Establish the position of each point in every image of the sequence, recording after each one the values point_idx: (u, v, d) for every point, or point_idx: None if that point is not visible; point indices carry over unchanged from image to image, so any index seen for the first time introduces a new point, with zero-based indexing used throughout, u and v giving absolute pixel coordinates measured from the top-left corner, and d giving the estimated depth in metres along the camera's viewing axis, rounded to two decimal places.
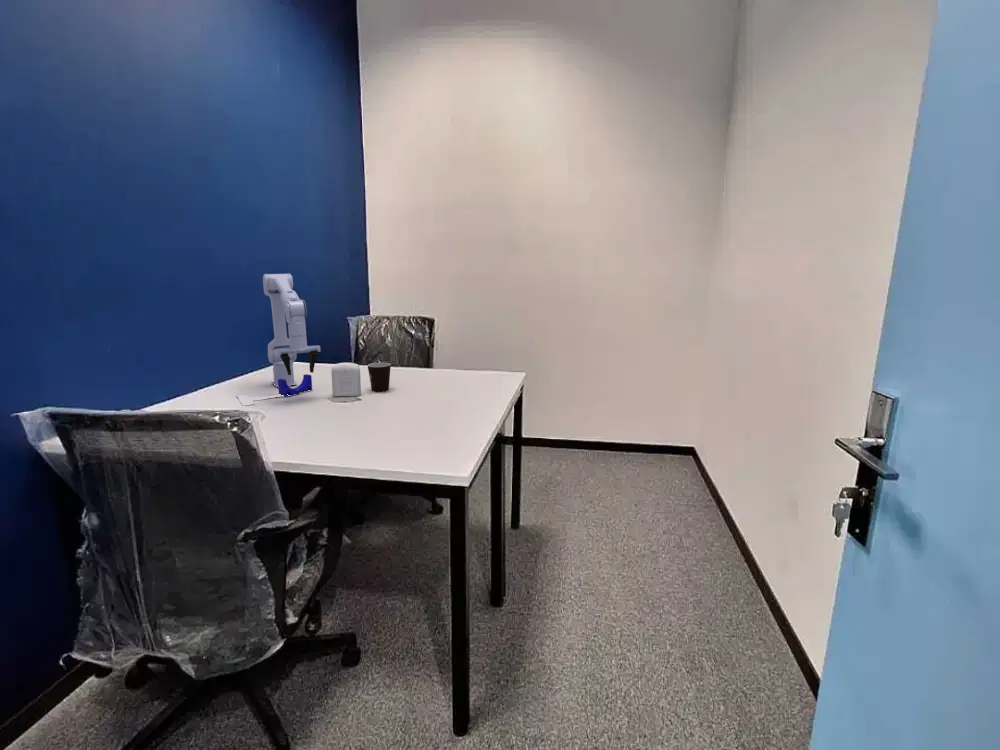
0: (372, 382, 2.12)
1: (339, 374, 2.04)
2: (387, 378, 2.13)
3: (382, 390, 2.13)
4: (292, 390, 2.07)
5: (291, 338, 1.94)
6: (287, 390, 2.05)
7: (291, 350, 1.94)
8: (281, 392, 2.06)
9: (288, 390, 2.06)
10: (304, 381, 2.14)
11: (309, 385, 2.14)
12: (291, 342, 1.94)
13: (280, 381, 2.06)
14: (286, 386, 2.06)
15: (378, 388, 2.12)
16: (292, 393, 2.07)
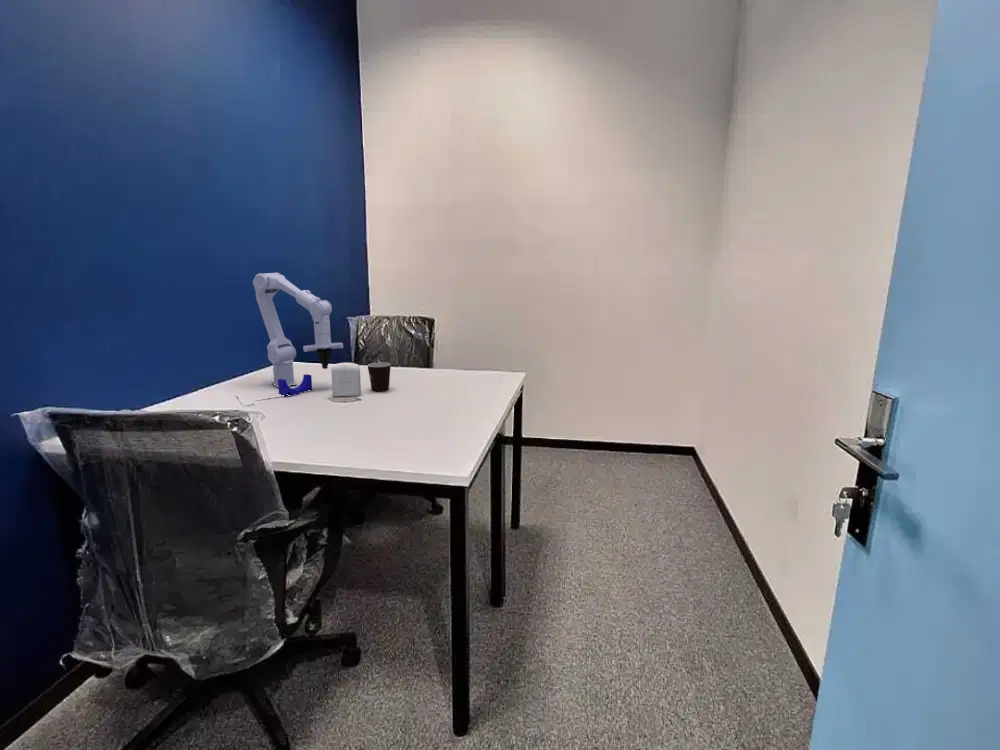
0: (372, 382, 2.12)
1: (339, 374, 2.04)
2: (387, 378, 2.13)
3: (382, 390, 2.13)
4: (292, 390, 2.07)
5: (317, 335, 2.10)
6: (287, 390, 2.05)
7: (317, 347, 2.10)
8: (281, 392, 2.06)
9: (288, 390, 2.06)
10: (304, 381, 2.14)
11: (309, 385, 2.14)
12: (317, 339, 2.10)
13: (280, 381, 2.06)
14: (286, 386, 2.06)
15: (378, 388, 2.12)
16: (292, 393, 2.07)
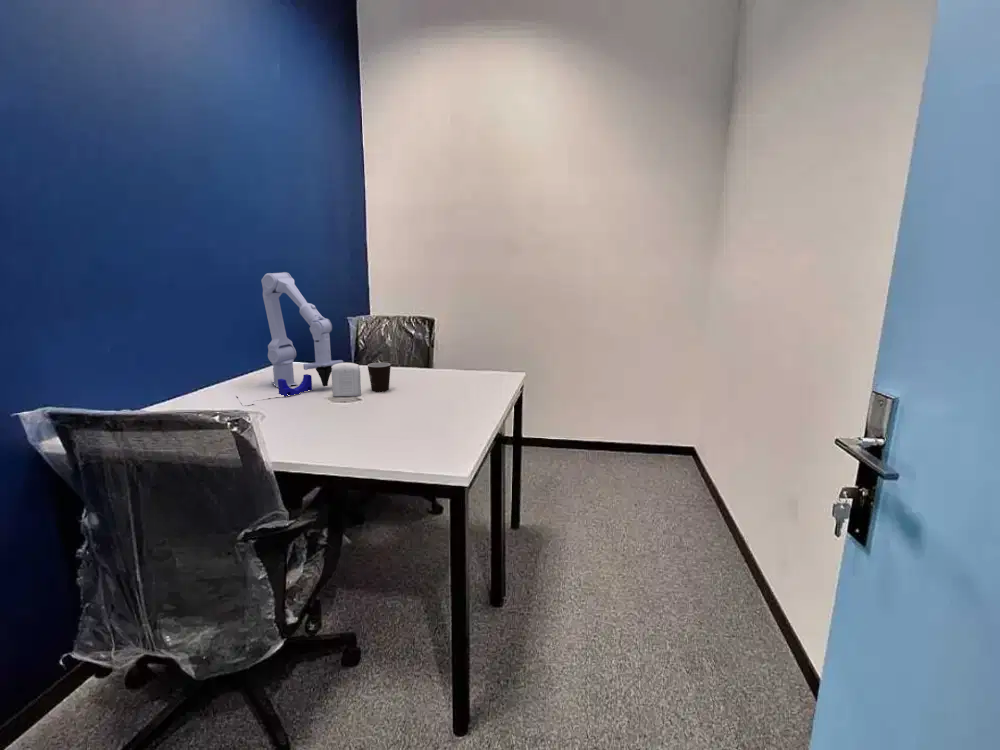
0: (372, 382, 2.12)
1: (339, 374, 2.04)
2: (387, 378, 2.13)
3: (382, 390, 2.13)
4: (292, 390, 2.07)
5: (317, 354, 2.11)
6: (287, 390, 2.05)
7: (317, 365, 2.11)
8: (281, 392, 2.06)
9: (288, 390, 2.06)
10: (304, 381, 2.14)
11: (309, 385, 2.14)
12: (317, 357, 2.11)
13: (280, 381, 2.06)
14: (286, 386, 2.06)
15: (378, 388, 2.12)
16: (292, 393, 2.07)
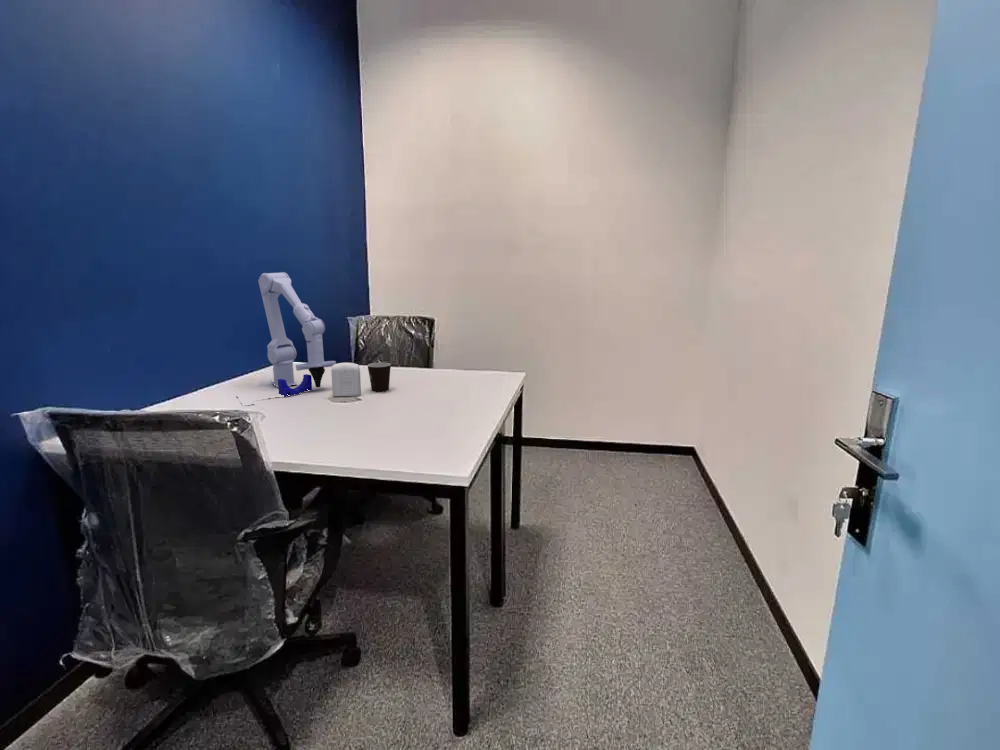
0: (372, 382, 2.12)
1: (339, 374, 2.04)
2: (387, 378, 2.13)
3: (382, 390, 2.13)
4: (292, 390, 2.07)
5: (309, 354, 2.10)
6: (287, 390, 2.05)
7: (309, 365, 2.10)
8: (281, 392, 2.06)
9: (288, 390, 2.06)
10: (304, 381, 2.14)
11: (309, 385, 2.14)
12: (309, 358, 2.10)
13: (280, 381, 2.06)
14: (286, 386, 2.06)
15: (378, 388, 2.12)
16: (292, 393, 2.07)
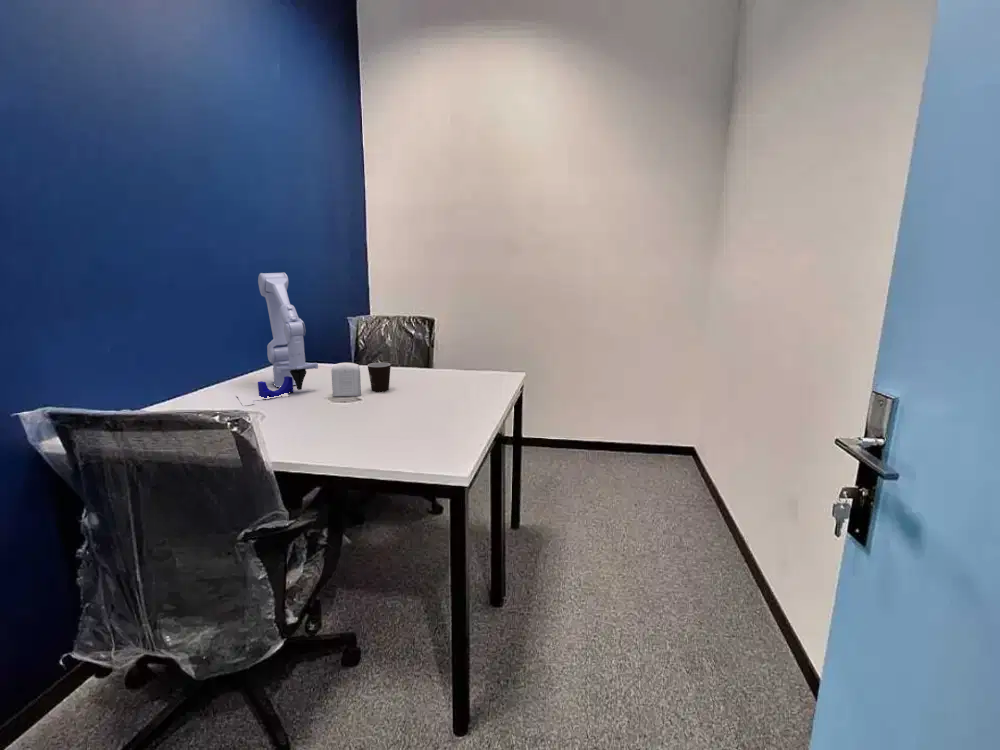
0: (372, 382, 2.12)
1: (339, 374, 2.04)
2: (387, 378, 2.13)
3: (382, 390, 2.13)
4: (272, 393, 2.03)
5: (290, 356, 2.06)
6: (267, 393, 2.02)
7: (290, 368, 2.06)
8: (261, 395, 2.03)
9: (268, 393, 2.02)
10: (285, 384, 2.10)
11: (290, 387, 2.10)
12: (290, 360, 2.06)
13: (260, 384, 2.02)
14: (266, 389, 2.03)
15: (378, 388, 2.12)
16: (273, 396, 2.03)
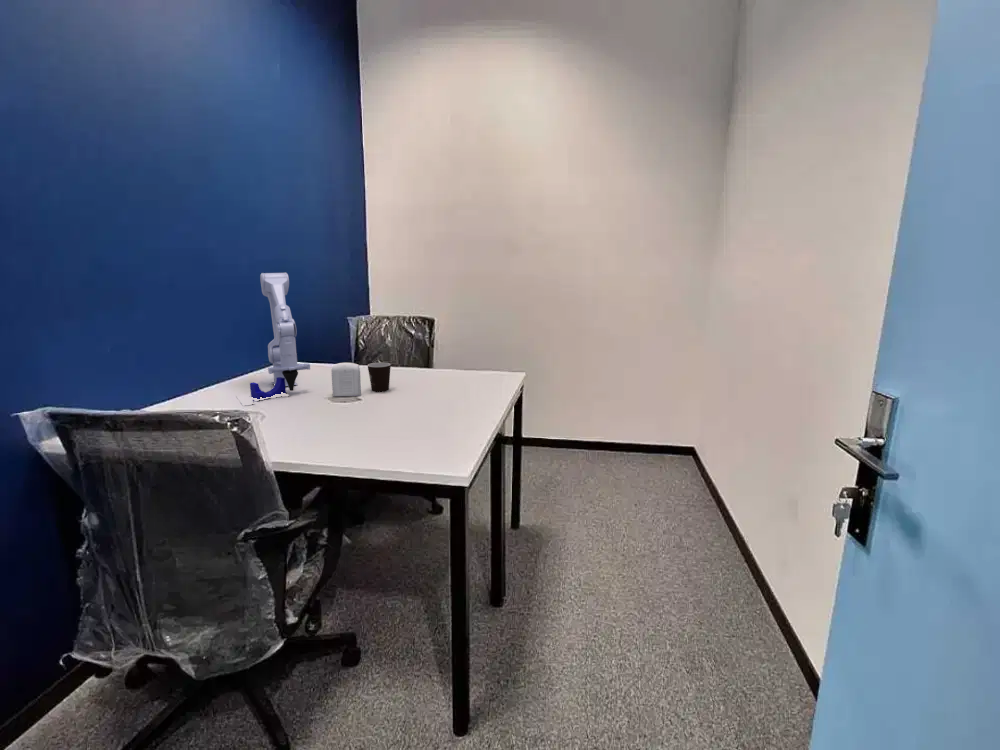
0: (372, 382, 2.12)
1: (339, 374, 2.04)
2: (387, 378, 2.13)
3: (382, 390, 2.13)
4: (265, 394, 2.02)
5: (282, 357, 2.04)
6: (260, 394, 2.00)
7: (282, 368, 2.04)
8: (253, 396, 2.01)
9: (261, 394, 2.00)
10: (277, 385, 2.08)
11: (282, 388, 2.09)
12: (282, 361, 2.05)
13: (252, 385, 2.00)
14: (258, 390, 2.01)
15: (378, 388, 2.12)
16: (265, 397, 2.02)
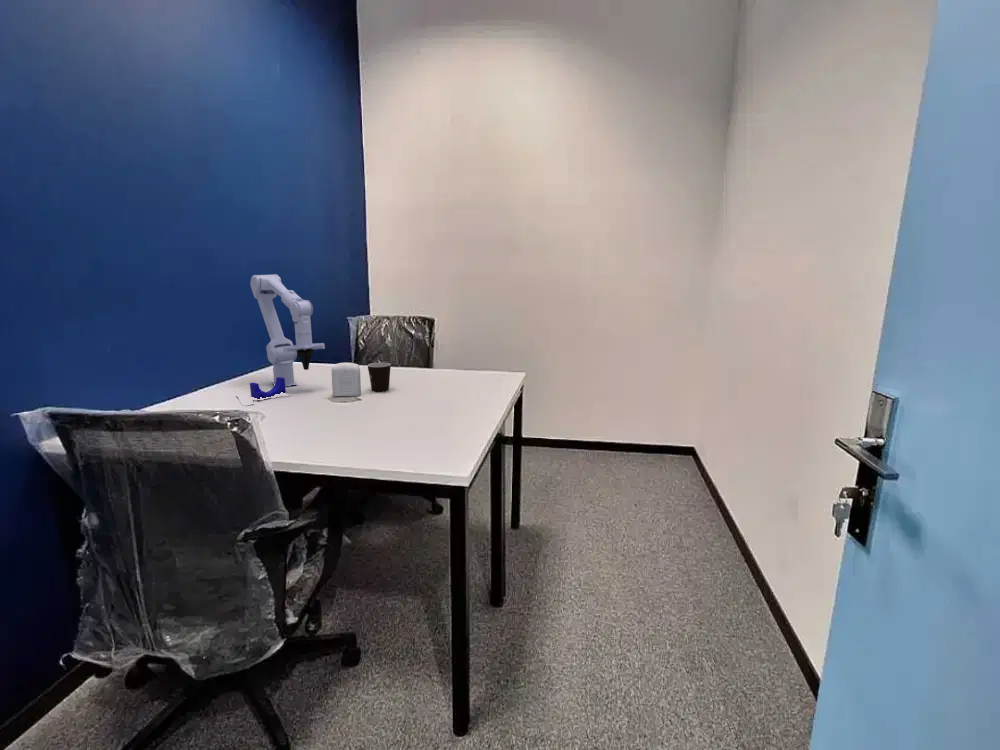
0: (372, 382, 2.12)
1: (339, 374, 2.04)
2: (387, 378, 2.13)
3: (382, 390, 2.13)
4: (265, 394, 2.02)
5: (297, 336, 2.07)
6: (260, 394, 2.00)
7: (297, 347, 2.07)
8: (254, 396, 2.01)
9: (261, 394, 2.00)
10: (277, 385, 2.09)
11: (282, 388, 2.09)
12: (297, 340, 2.07)
13: (252, 385, 2.00)
14: (259, 390, 2.01)
15: (378, 388, 2.12)
16: (265, 397, 2.02)
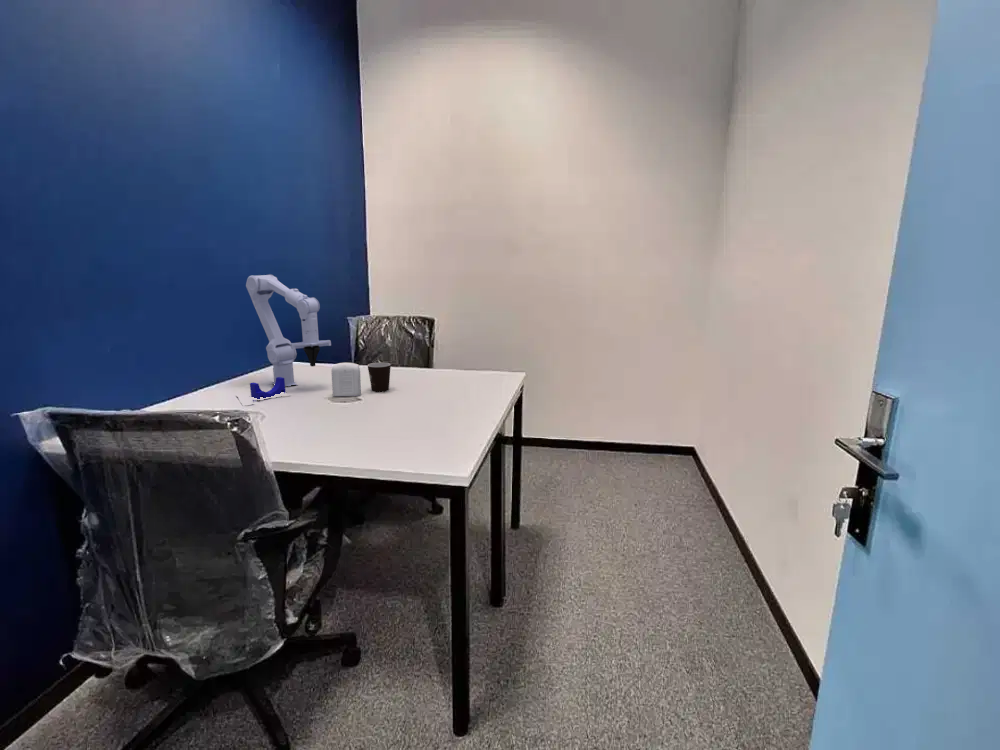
0: (372, 382, 2.12)
1: (339, 374, 2.04)
2: (387, 378, 2.13)
3: (382, 390, 2.13)
4: (265, 394, 2.02)
5: (304, 333, 2.09)
6: (260, 394, 2.00)
7: (304, 344, 2.09)
8: (254, 396, 2.01)
9: (261, 394, 2.01)
10: (277, 384, 2.09)
11: (282, 388, 2.09)
12: (304, 337, 2.09)
13: (252, 385, 2.00)
14: (259, 390, 2.01)
15: (378, 388, 2.12)
16: (265, 397, 2.02)
